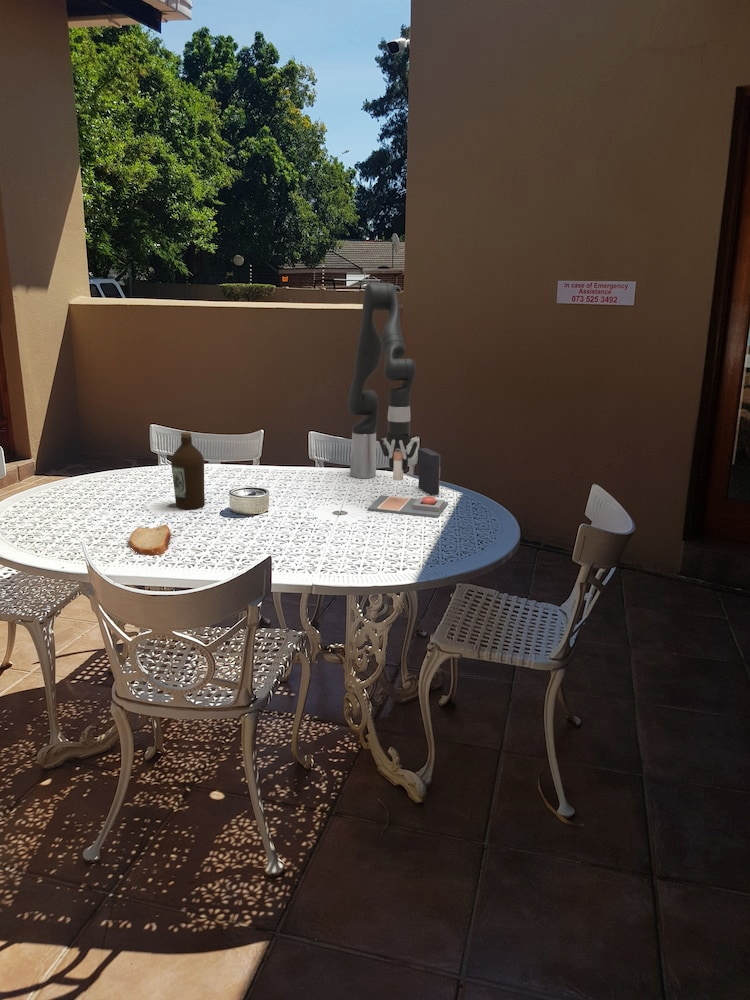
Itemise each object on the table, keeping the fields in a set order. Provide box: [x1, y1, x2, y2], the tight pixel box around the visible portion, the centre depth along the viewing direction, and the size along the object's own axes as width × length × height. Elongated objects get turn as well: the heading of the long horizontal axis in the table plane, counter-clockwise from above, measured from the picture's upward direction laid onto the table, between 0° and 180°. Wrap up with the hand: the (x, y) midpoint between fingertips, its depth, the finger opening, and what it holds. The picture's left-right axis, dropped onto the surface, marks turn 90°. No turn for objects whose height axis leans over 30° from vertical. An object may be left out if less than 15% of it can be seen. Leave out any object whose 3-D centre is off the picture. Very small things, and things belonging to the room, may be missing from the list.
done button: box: [421, 496, 436, 505], centre depth 250 cm, size 4×4×2 cm
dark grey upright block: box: [417, 447, 441, 496], centre depth 270 cm, size 11×4×15 cm, turn 22°
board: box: [367, 494, 449, 519], centre depth 253 cm, size 24×16×2 cm, turn 73°
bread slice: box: [128, 524, 172, 557], centre depth 217 cm, size 18×18×4 cm
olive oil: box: [170, 431, 206, 511], centre depth 248 cm, size 11×11×25 cm
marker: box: [392, 449, 404, 481], centre depth 254 cm, size 4×4×10 cm
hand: (398, 468), depth 255 cm, fingers closed on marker, 3 cm apart
